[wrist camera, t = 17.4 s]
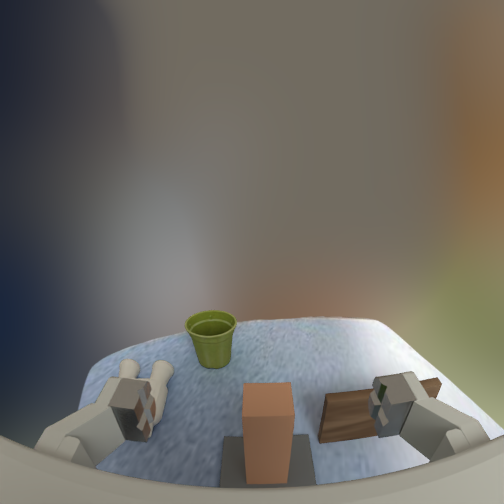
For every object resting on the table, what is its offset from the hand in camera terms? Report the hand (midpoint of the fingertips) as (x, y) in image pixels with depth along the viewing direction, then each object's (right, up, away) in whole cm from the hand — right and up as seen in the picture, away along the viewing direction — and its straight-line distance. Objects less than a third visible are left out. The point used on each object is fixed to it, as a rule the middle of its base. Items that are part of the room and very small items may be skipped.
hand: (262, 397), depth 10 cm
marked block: (+1, -23, +24) cm, 33 cm away
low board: (+18, -22, +29) cm, 40 cm away
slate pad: (+2, -24, +24) cm, 34 cm away
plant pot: (-8, -16, +49) cm, 52 cm away
